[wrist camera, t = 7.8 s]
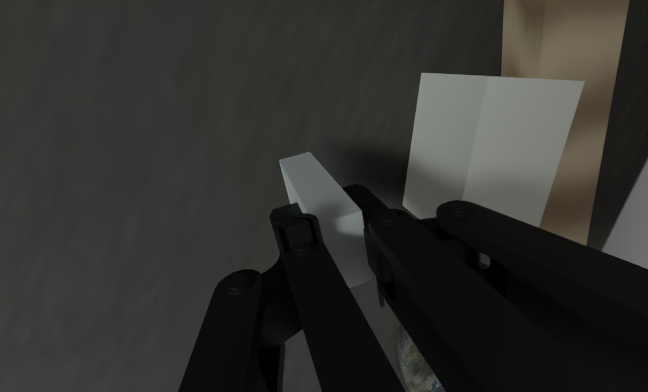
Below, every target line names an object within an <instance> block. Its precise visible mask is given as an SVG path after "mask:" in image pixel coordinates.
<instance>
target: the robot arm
mask: <svg viewBox="0 0 648 392" xmlns="http://www.w3.org/2000/svg"><path fill="white" fill-rule="evenodd" d="M279 162H280V166H281V170H282V174H283V178H284V181H285V185H286V189H287V193H288V197H289V201H290V204H289V205H286V206H283V207H279V208H276V209H273V210H272V212H271V215H270V220H271V224H272V227H273V230H274V234H275V237H276V241H277V244H278V247H279V251H280V256H279V259H278V261H277V262H276V263H275V264H274V265H273V266H272V267H271V268H270V269H268V270H267V271H265V272H264V273H262V274H260V273H259V272H258V271H256V270H252V269H244V270H240V271H236V272H233V273H231V274H230V275H228V276H226V277H225V278H224V279H222V280H221V281H220V282H219V283H218V285H217V286H216V288H215V290H214V293H213V295H212V298H211V301H210V304H209V307H208V309H207V312H206V315H205V318H204V321H203V323H202V326H201V329H200V332H199V335H198V338H197V340H196V343H195V346H194V349H193V352H192V354H191V357H190V360H189V363H188V366H187V368H186V371H185V374H184V377H183V380H182V382H181V385H180V388H179V391H178V392H282V388H283V372H284V357H285V344H284V342H285V341H286V340H288V339H289V338H291V337H292V336H294V335H295V334H296V333H298V332H299V331H301V330H302V329H303V331H304V334H305V337H306V341H307V344H308V347H309V350H310V354H311V357H312V360H313V364H314V367H315V370H316V374H317V377H318V380H319V383H320V387H321V390H322V392H406V391H405V389H404V388H403V386H402V384H401V382H400V380H399V378H398V377H397V375H396V373H395V371H394V369H393V368H392V366H391V364H390V362H389V360H388V358H387V357H386V355H385V353H384V351H383V349H382V347H381V346H380V344H379V342H378V340H377V338H376V337H375V335H374V333H373V331H372V329H371V327H370V326H369V324H368V322H367V320H366V318H365V317H364V315H363V313H362V311H361V309H360V307H359V306H358V304H357V302H356V300H355V298H354V296H353V295H352V293H351V291H350V289H349V288H352V287H354V286H357V285H360V284H363V283H366V282H369V281H371V280H372V276H371V270H370V268H371V269H372V271H373V272H374V274H375V275H376V280H377V287H378V294H379V301H380V305H381V307H384V298H385V300H386V301H387V303H388V304H389V306H390V308H391V309H392V311H393V312H394V314H395V315H396V317H397V318H398V320H399V321H400V323H401V324H402V326H403V327H404V329H405V330H406V332H407V333H408V335H409V336H410V338H411V339H412V341H413V342H414V344H415V345H416V347H417V348H418V350H419V351H420V353H421V354H422V356H423V357H424V359H425V361H426V362H427V364H428V365H429V367H430V368H431V370H432V371H433V373H434V374H435V376H436V377H437V379H438V380H439V382H440V383H441V385H442V386H443V388H444V389H445V391H446V392H648V269H646V268H643V267H641V266H638V265H635V264H633V263H630V262H628V261H625V260H622V259H620V258H617V257H614V256H612V255H609V254H607V253H604V252H601V251H599V250H596V249H593V248H591V247H588V246H586V245H583V244H580V243H578V242H575V241H572V240H570V239H567V238H565V237H562V236H559V235H557V234H554V233H551V232H549V231H546V230H544V229H541V228H538V227H536V226H533V225H530V224H528V223H525V222H523V221H520V220H517V219H515V218H512V217H509V216H507V215H504V214H502V213H499V212H496V211H494V210H491V209H488V208H486V207H483V206H481V205H478V204H475V203H472V202H468V201H460V200H454V201H448V202H446V203H443V204H441V205H440V206H438V207H437V210H436V217H434V218H425V219H414V218H413V217H412V216H410V215H409V214H408V213H406V212H404V211H402V210H397V209H389V208H388V207H387V206H386V205H385V204H384V203H382V202H381V201H380V200H379V199H378V198H376V196H375V195H374V194H373V193H371V191H370V190H369V189H367V188H366V187H364V186H361V185H358V184H354V185H350V186H347V187H343V188H341V187H340V186H339V185H338V184H337V182H336V181H335V180H334V179H333V178H332V177H331V176H330V175H329V173H328V172H327V171H326V170H325V169H324V168H323V167H322V166H321V164H320V163H319V162H318V161H317V160H316V159H315V158H314V156H313V155H312V154H311V153H310V152H307V153H304V154H300V155H296V156H292V157H289V158H285V159H281V160H279ZM481 253H483V254H485V255H487V256H489V257H491V260H490V266H488V265H485V264H483V263H481Z"/></svg>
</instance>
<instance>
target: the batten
mask: <svg viewBox="0 0 648 392" xmlns="http://www.w3.org/2000/svg"><path fill="white" fill-rule="evenodd" d="M628 6H629V0H504V15H503V41H502V67H501V77H515V78H534V79H554V80H573V81H585V83H584V86H583V89H582V92H581V95H580V99H579V102H578V105H577V108H576V111H575V114H574V118H573V121H572V124H571V127H570V130H569V133H568V137H567V140H566V143H565V146H564V149H563V153H562V156H561V159H560V162H559V165H558V168H557V172H556V175H555V178H554V181H553V184H552V187H551V191H550V194H549V197H548V200H547V203H546V206H545V210H544V213H543V216H542V219H541V222H540V225H539V228H541V229H544V230H546V231H549V232H551V233H554V234H557V235H559V236H562V237H565V238H567V239H570V240H572V241H575V242H578V243H580V244H583V245H586V244H587V238H588V233H589V227H590V221H591V216H592V210H593V204H594V199H595V193H596V187H597V182H598V176H599V170H600V164H601V159H602V153H603V147H604V142H605V136H606V130H607V125H608V119H609V113H610V108H611V102H612V96H613V91H614V85H615V79H616V74H617V68H618V62H619V57H620V51H621V45H622V40H623V34H624V28H625V23H626V17H627V11H628Z"/></svg>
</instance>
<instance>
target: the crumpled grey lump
mask: <svg viewBox="0 0 648 392" xmlns="http://www.w3.org/2000/svg"><path fill="white" fill-rule="evenodd" d="M396 344H397V356H398V361H399V365H400V370H401V374H402V377H403V379H404V382H405V384H406V386H407V389H408V391H409V392H445V389H444V388H443V386H442V385H441V383H440V382H439V380H438V379H437V377H436V376H435V374H434V373H433V371H432V370H431V368H430V367H429V365H428V364H427V362H426V361H425V359H424V357H423V356H422V354H421V353H420V351H419V350H418V348H417V347H416V345H415V344H414V342H413V341H412V339H411V338H410V336H409V335H408V333H407V332H406V330H405V329H404V327H403V326H402V324H401V325H400V326H399V330H398V334H397V339H396Z"/></svg>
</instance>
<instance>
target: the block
mask: <svg viewBox="0 0 648 392" xmlns="http://www.w3.org/2000/svg"><path fill="white" fill-rule="evenodd" d="M584 83H585V81H573V80H554V79H534V78H515V77H495V76H475V75H455V74H435V73H421V80H420V87H419V94H418V101H417V108H416V115H415V122H414V129H413V136H412V143H411V149H410V156H409V163H408V170H407V177H406V184H405V191H404V198H403V206H404V207H405V208H406V209H408V210H409V211H410V212H411V213H413V214H414V215H415V216H416V217H418V218H419V219H425V218H434V217H436V210H437V207H438V206H440V205H441V204H443V203H446V202H448V201H454V200H460V201H468V202H472V203H475V204H478V205H481V206H483V207H486V208H488V209H491V210H494V211H496V212H499V213H502V214H504V215H507V216H509V217H512V218H515V219H517V220H520V221H523V222H525V223H528V224H530V225H533V226H536V227H538V228H539V225H540V222H541V219H542V216H543V213H544V210H545V206H546V203H547V200H548V197H549V194H550V191H551V187H552V184H553V181H554V178H555V175H556V172H557V168H558V165H559V162H560V159H561V156H562V153H563V149H564V146H565V143H566V140H567V137H568V133H569V130H570V127H571V124H572V121H573V118H574V114H575V111H576V108H577V105H578V102H579V99H580V95H581V92H582V89H583V86H584Z"/></svg>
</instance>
